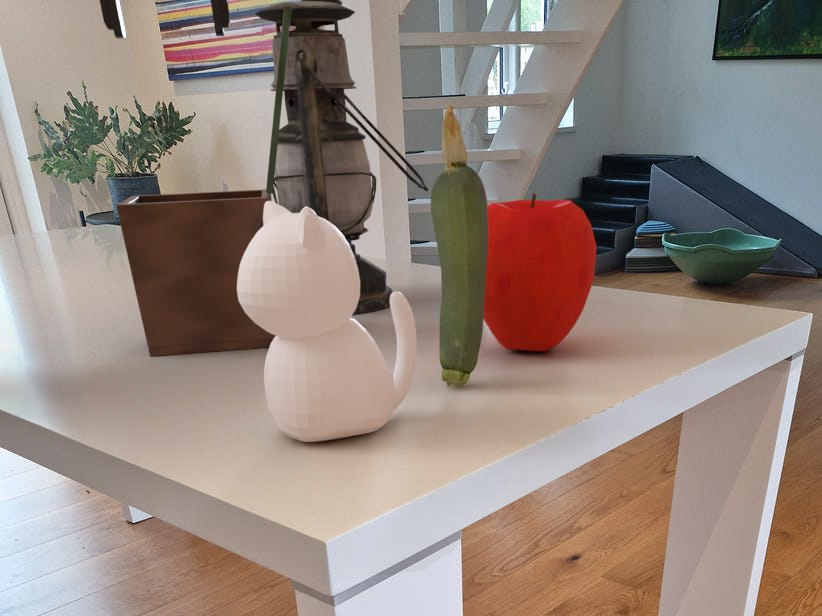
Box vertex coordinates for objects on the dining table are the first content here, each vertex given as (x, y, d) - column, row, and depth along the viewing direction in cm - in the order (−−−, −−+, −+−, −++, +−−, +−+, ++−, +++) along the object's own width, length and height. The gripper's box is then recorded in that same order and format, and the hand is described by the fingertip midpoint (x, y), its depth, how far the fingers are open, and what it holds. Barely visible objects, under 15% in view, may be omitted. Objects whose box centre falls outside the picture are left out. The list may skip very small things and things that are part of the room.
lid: (284, 4, 73) (291, 7, 73) (283, 16, 82) (289, 18, 82) (265, 192, 80) (272, 194, 80) (266, 184, 88) (272, 185, 89)
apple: (477, 370, 77) (472, 201, 70) (459, 340, 86) (453, 190, 79) (606, 361, 78) (614, 195, 71) (574, 333, 88) (578, 185, 81)
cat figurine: (241, 430, 64) (200, 204, 56) (388, 398, 70) (371, 190, 62) (290, 463, 58) (253, 214, 50) (448, 425, 63) (437, 197, 56)
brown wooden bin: (149, 356, 85) (115, 205, 78) (161, 333, 94) (131, 195, 87) (290, 345, 87) (269, 197, 80) (288, 324, 96) (270, 189, 89)
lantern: (289, 291, 113) (250, 8, 97) (434, 286, 113) (420, 3, 98) (264, 322, 97) (213, -11, 81) (433, 315, 97) (416, -18, 82)
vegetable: (457, 376, 75) (446, 105, 65) (501, 381, 73) (497, 104, 63) (430, 389, 72) (413, 106, 61) (475, 395, 70) (466, 104, 60)
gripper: (222, -197, 72) (253, 38, 81) (41, -202, 70) (93, 41, 79) (217, -227, 66) (252, 32, 75) (19, -233, 64) (78, 35, 72)
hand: (170, 36), depth 77 cm, fingers open, 8 cm apart
